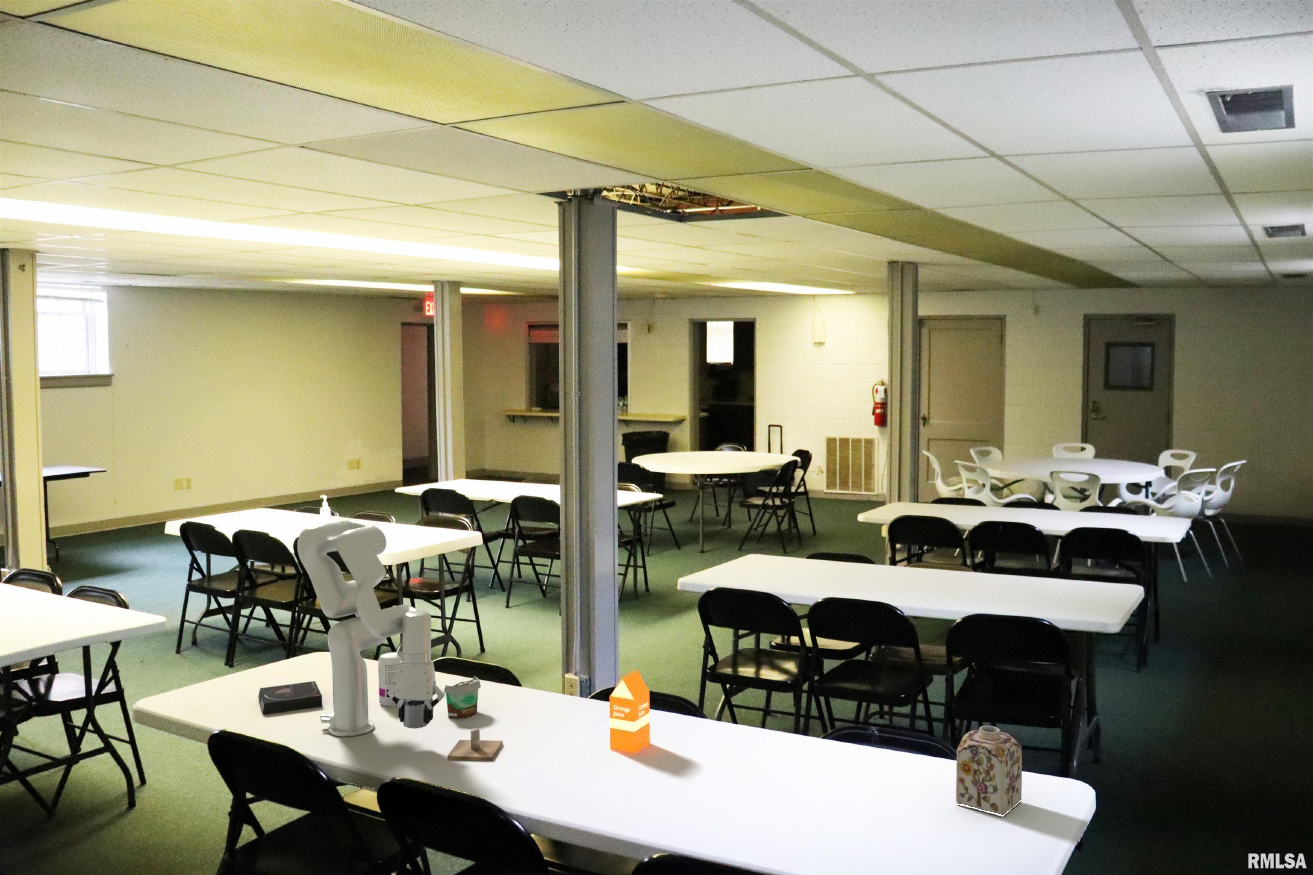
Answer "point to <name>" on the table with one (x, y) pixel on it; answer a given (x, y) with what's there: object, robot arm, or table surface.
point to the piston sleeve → (414, 714)
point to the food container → (462, 699)
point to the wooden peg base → (475, 748)
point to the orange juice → (630, 714)
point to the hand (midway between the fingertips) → (415, 720)
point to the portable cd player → (290, 697)
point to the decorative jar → (989, 770)
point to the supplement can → (387, 676)
